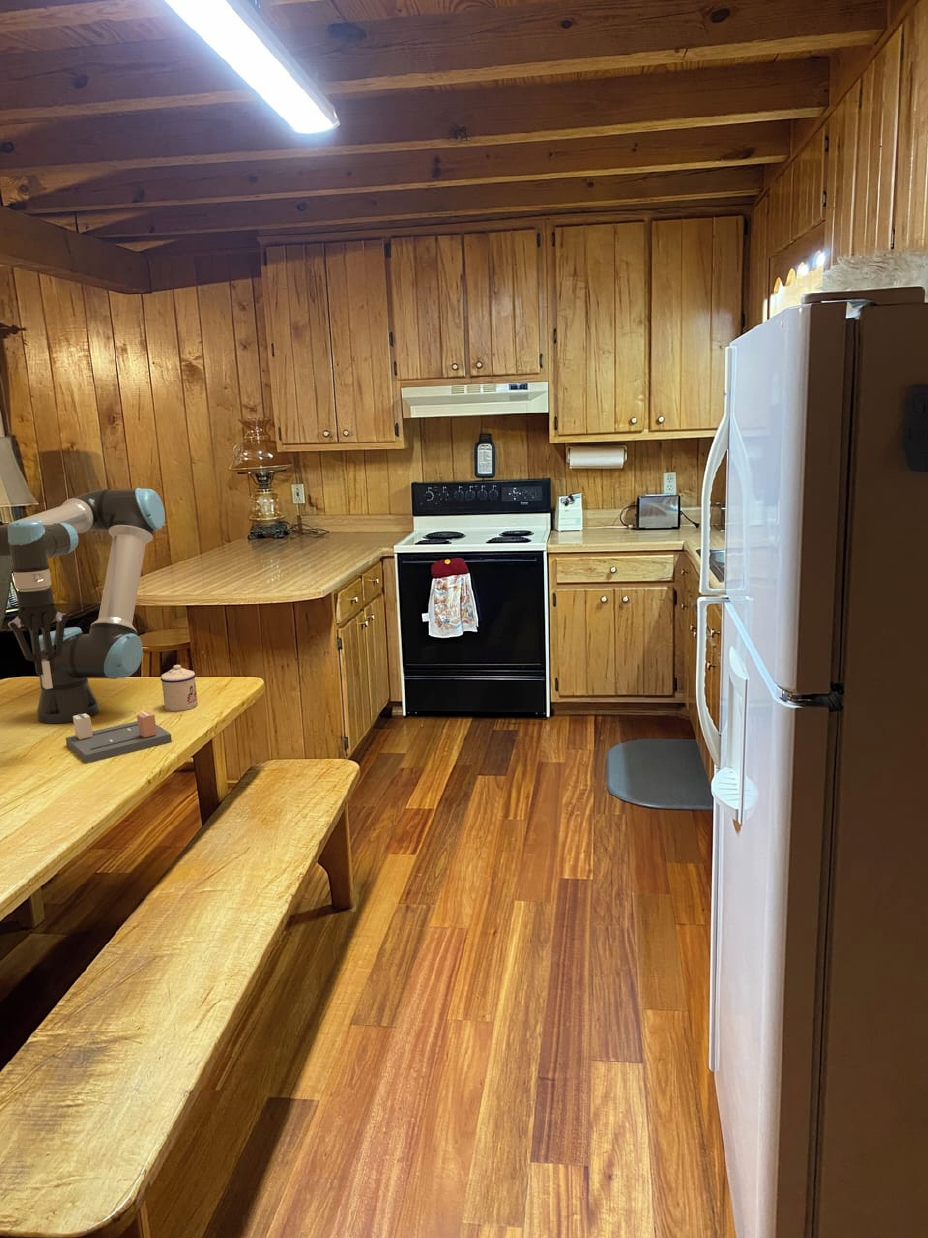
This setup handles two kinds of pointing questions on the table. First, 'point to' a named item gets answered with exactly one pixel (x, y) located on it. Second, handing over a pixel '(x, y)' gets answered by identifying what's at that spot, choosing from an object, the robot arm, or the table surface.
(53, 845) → the table surface
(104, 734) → the mixer board
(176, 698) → the teacup with lid
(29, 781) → the table surface
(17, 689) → the table surface
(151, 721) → the fader
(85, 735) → the fader
